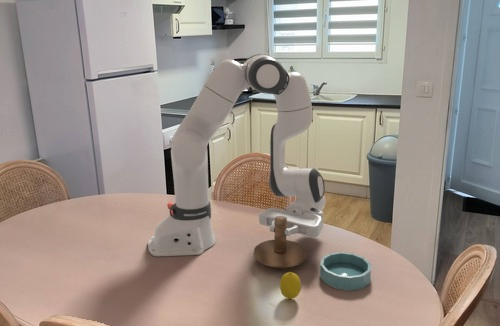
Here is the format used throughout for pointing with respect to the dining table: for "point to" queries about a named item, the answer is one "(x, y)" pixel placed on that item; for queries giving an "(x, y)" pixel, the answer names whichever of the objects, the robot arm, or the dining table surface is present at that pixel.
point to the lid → (280, 248)
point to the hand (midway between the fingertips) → (279, 231)
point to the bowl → (345, 271)
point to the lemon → (290, 285)
